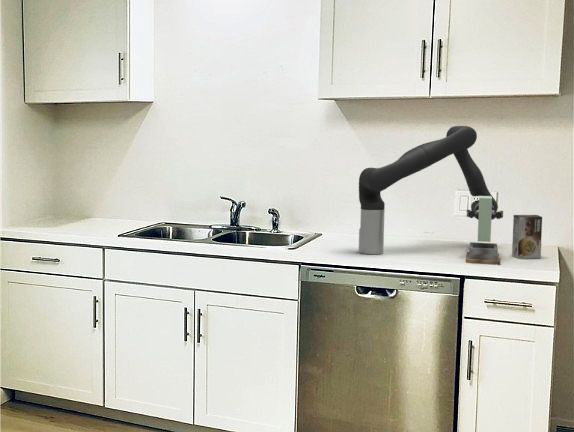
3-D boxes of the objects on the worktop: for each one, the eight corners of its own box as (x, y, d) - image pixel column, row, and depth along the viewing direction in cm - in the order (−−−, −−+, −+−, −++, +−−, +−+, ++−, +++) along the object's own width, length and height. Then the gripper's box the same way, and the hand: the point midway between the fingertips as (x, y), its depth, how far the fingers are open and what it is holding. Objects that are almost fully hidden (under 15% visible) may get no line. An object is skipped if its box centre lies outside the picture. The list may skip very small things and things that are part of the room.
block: (477, 241, 249) (479, 198, 247) (477, 237, 258) (479, 195, 256) (490, 241, 248) (492, 198, 246) (490, 238, 257) (491, 196, 255)
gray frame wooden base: (465, 262, 247) (466, 248, 246) (466, 254, 264) (467, 241, 263) (500, 264, 244) (500, 250, 243) (498, 256, 261) (499, 243, 260)
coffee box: (534, 255, 263) (536, 214, 261) (540, 258, 257) (543, 216, 255) (511, 255, 263) (513, 214, 261) (517, 258, 257) (519, 216, 255)
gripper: (466, 201, 267) (465, 205, 251) (504, 202, 263) (505, 207, 247) (465, 220, 268) (464, 225, 252) (503, 221, 264) (504, 227, 248)
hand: (485, 216), depth 249 cm, fingers closed on block, 4 cm apart
